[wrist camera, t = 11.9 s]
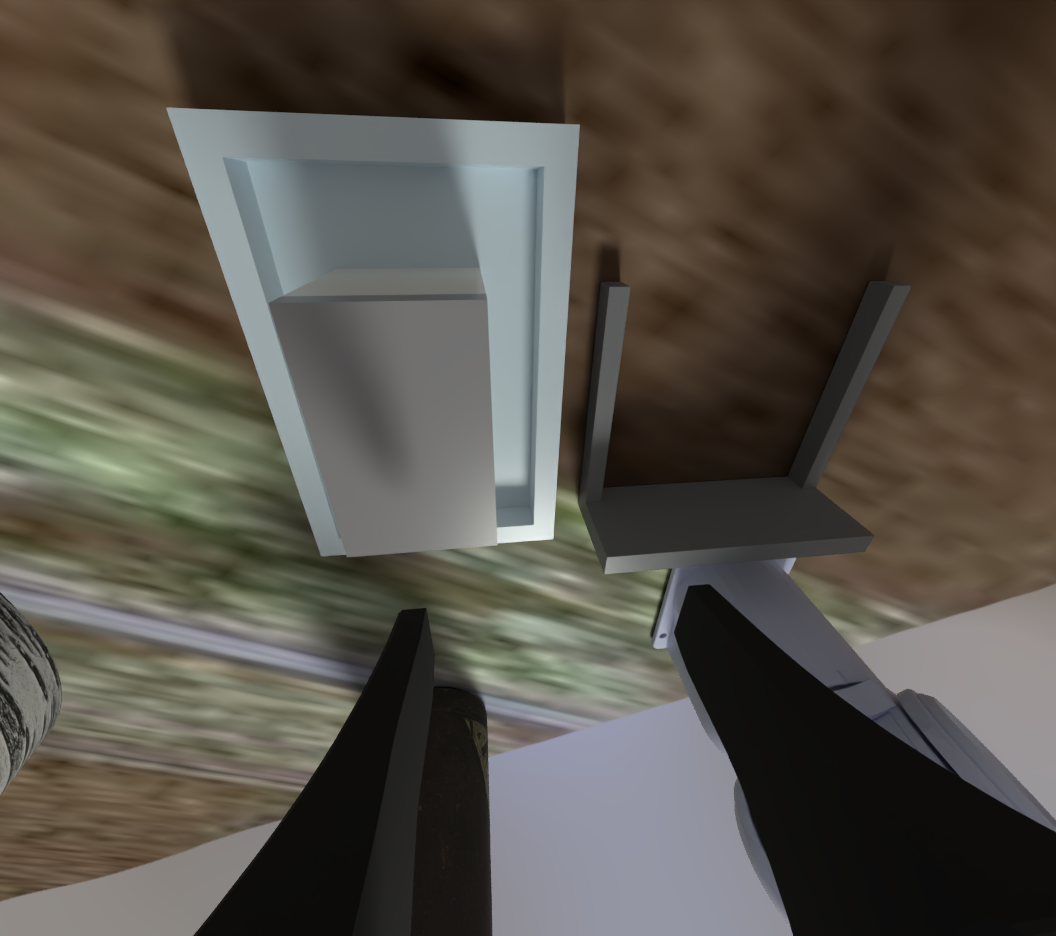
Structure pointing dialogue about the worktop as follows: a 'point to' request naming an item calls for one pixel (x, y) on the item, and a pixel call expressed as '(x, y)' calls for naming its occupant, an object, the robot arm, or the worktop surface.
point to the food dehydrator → (24, 691)
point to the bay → (728, 505)
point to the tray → (401, 258)
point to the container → (453, 822)
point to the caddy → (397, 403)
